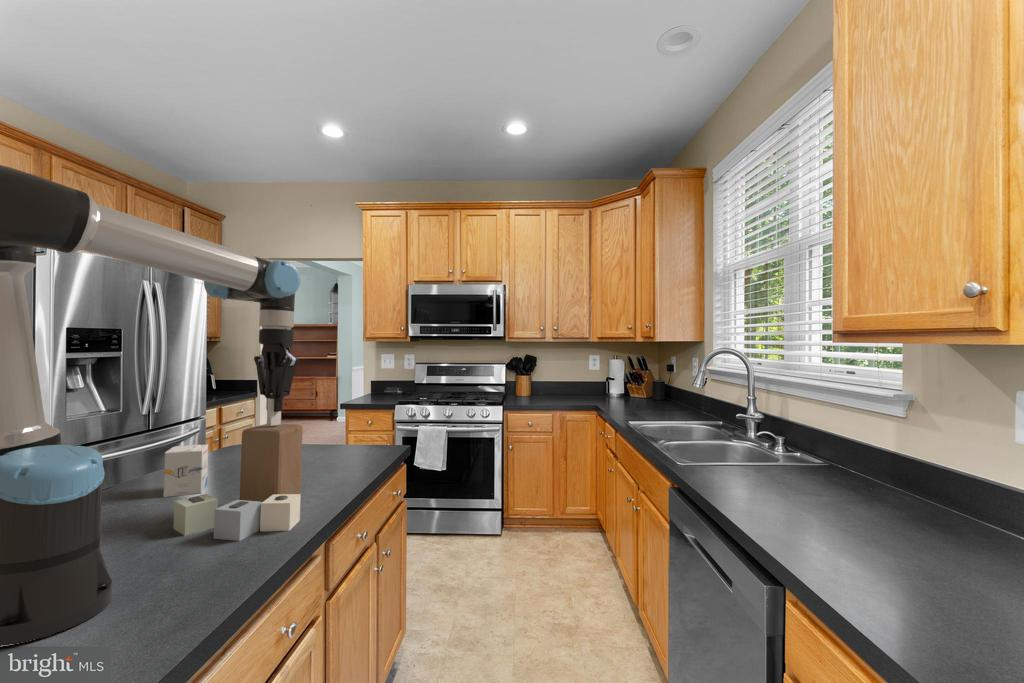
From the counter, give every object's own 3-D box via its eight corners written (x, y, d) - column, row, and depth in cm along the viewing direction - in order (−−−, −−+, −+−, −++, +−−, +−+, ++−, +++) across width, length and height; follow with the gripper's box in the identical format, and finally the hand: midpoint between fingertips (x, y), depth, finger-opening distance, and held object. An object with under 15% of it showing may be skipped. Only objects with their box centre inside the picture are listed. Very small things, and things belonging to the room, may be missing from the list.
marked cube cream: (289, 531, 96) (290, 501, 96) (260, 531, 95) (261, 502, 95) (299, 520, 102) (300, 492, 102) (272, 521, 101) (273, 493, 101)
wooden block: (301, 503, 113) (304, 424, 113) (277, 517, 103) (280, 430, 103) (264, 501, 114) (267, 422, 114) (236, 515, 104) (240, 429, 104)
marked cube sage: (184, 536, 92) (185, 505, 92) (173, 529, 95) (174, 499, 96) (217, 527, 97) (218, 497, 97) (205, 520, 100) (206, 492, 101)
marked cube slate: (239, 541, 90) (240, 510, 90) (213, 538, 91) (214, 507, 91) (260, 529, 96) (261, 500, 96) (236, 527, 97) (237, 498, 97)
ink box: (171, 488, 123) (172, 445, 123) (207, 484, 126) (209, 443, 126) (162, 497, 115) (163, 452, 115) (201, 494, 118) (203, 449, 119)
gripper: (308, 329, 110) (305, 424, 110) (272, 329, 115) (269, 420, 115) (281, 327, 103) (278, 429, 103) (244, 327, 109) (241, 424, 108)
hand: (273, 424), depth 109 cm, fingers closed
